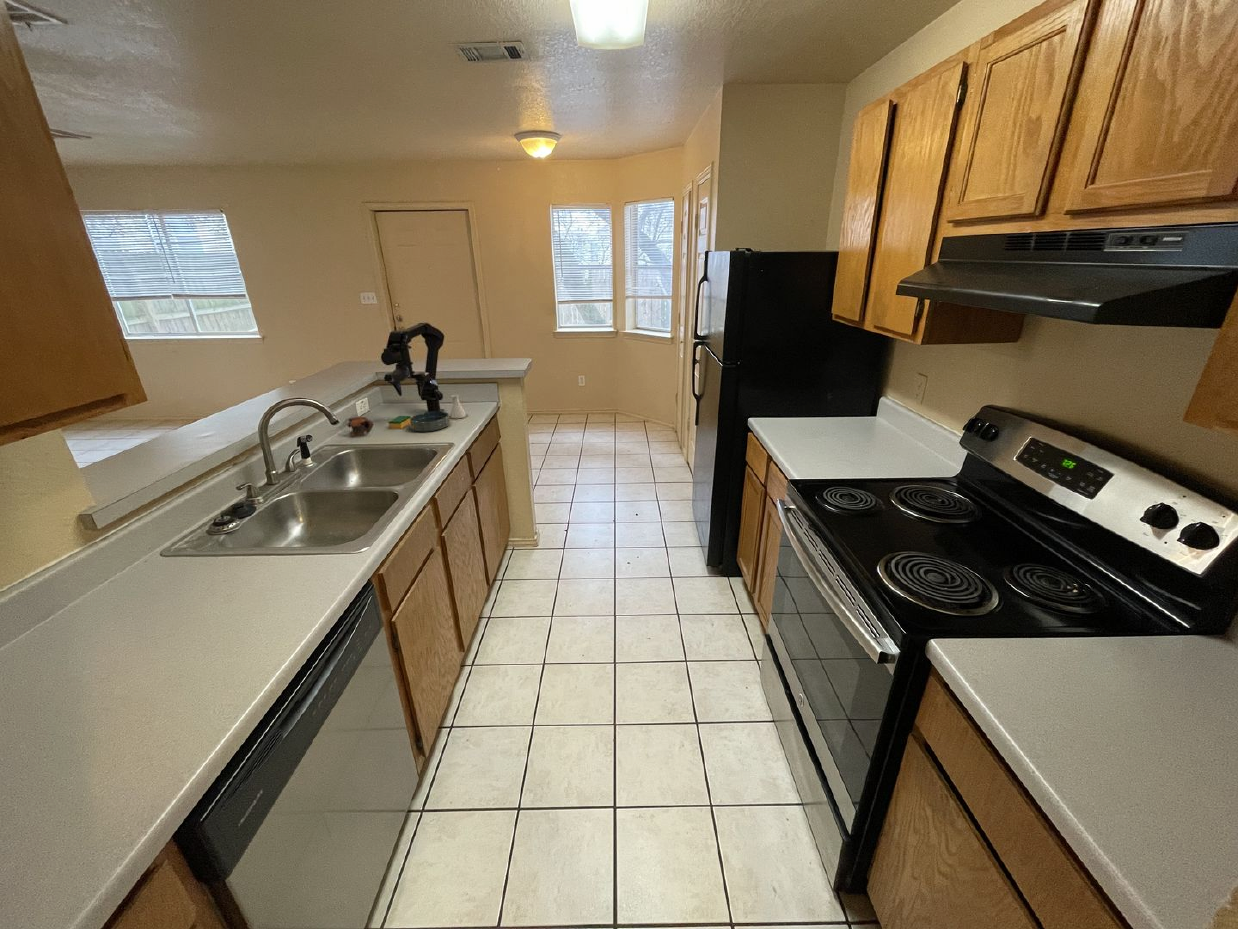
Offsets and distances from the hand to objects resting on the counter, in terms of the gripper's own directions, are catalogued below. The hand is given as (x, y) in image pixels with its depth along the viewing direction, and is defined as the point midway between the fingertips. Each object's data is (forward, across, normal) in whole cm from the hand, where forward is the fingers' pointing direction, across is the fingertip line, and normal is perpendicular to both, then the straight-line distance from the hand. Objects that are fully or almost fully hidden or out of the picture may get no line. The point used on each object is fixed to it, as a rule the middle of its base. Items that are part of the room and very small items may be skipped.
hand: (410, 395), depth 225 cm
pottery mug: (+12, -15, -17) cm, 26 cm away
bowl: (+12, +11, -7) cm, 18 cm away
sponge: (+12, -4, -5) cm, 14 cm away
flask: (+12, +17, +8) cm, 22 cm away
